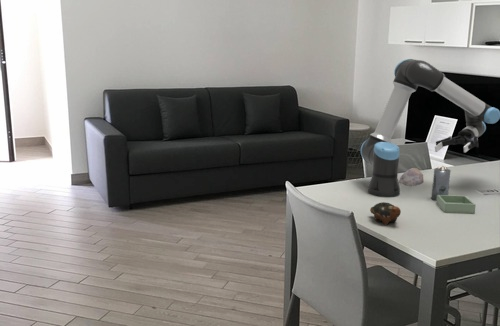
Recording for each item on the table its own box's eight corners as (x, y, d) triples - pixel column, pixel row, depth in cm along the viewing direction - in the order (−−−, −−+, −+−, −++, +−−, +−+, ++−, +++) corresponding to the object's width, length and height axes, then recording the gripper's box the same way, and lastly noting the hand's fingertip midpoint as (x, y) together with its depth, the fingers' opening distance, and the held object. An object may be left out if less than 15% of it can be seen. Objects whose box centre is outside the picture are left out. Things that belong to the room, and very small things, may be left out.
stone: (405, 196, 269) (420, 185, 263) (392, 180, 271) (407, 169, 265) (415, 188, 283) (429, 178, 277) (402, 174, 285) (417, 162, 279)
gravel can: (433, 201, 242) (437, 168, 239) (429, 196, 249) (432, 164, 245) (449, 201, 242) (453, 168, 238) (444, 197, 248) (448, 165, 245)
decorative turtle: (392, 229, 206) (392, 209, 204) (362, 221, 218) (362, 202, 216) (408, 223, 211) (408, 204, 210) (378, 215, 224) (378, 197, 222)
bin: (444, 212, 227) (445, 203, 226) (436, 203, 239) (437, 194, 238) (474, 213, 226) (475, 204, 225) (464, 204, 238) (465, 195, 237)
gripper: (494, 143, 254) (478, 157, 240) (443, 142, 272) (425, 156, 257) (493, 128, 252) (476, 141, 238) (442, 128, 270) (423, 141, 255)
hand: (449, 149), depth 248 cm, fingers open, 13 cm apart
